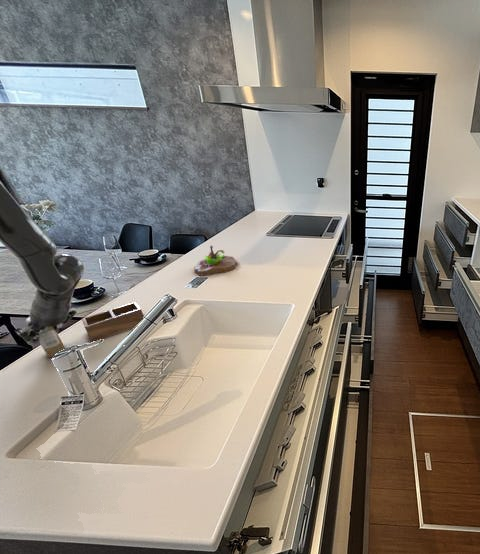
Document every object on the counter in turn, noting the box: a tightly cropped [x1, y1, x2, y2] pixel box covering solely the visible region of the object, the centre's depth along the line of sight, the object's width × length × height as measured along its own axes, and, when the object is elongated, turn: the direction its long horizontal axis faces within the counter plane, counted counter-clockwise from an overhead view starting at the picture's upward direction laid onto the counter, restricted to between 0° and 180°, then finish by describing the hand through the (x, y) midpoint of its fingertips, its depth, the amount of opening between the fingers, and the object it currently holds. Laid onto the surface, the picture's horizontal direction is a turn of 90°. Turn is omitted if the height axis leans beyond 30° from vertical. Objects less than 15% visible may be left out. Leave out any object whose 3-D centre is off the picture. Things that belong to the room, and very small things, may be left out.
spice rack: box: [81, 301, 145, 343], centre depth 106 cm, size 8×15×6 cm, turn 137°
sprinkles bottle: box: [25, 316, 67, 358], centre depth 93 cm, size 5×5×14 cm
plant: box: [193, 245, 238, 276], centre depth 156 cm, size 20×20×11 cm
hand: (43, 335), depth 94 cm, fingers closed on sprinkles bottle, 4 cm apart
